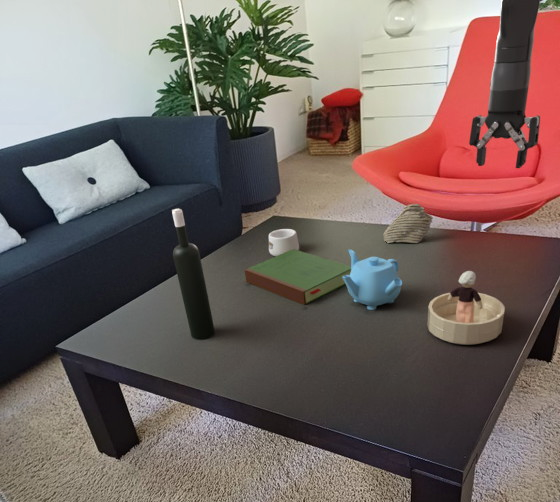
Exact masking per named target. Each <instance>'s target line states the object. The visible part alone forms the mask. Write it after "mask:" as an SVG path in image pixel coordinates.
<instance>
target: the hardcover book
mask: <svg viewBox="0 0 560 502" xmlns="http://www.w3.org/2000/svg"><path fill="white" fill-rule="evenodd" d="M350 273H351V265H348V264H344V263H341V262H339V261H338V262H337V261H334V260H332V259H327V258H324V257H322V256H318V255H315V254H311V253H307V252H304V251H301V250H295V249H292V250H290V251H288V252H285V253H283V254H281V255H278V256H274V257H272V258H269V259H267V260H264V261H261V262H259V263H256V264H255V265H252V266H250V267H248V268H245V269H244V276H245V281H246V283H247V284H250V285H253V286H255V287H257V288H260V289H263V290H265V291H268V292H271V293H273V294H275V295H278V296H280V297H283V298H285V299H287V300H290V301H293V302H296V303H298V304H300V305H303V306H306V305H308V304H310V303H312V302H314V301H316V300H318V299H320V298H322V297H324V296H327V294H329V293H332V292H333V291H336V290H337V289H340V288H342V287H343V286H346V284H345V282H344V280H343V278H342V277H343V276H345V275H349V276H350Z"/></svg>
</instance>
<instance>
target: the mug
mask: <svg viewBox="0 0 560 502" xmlns="http://www.w3.org/2000/svg"><path fill="white" fill-rule="evenodd" d="M292 249H295V250H298V251H300V245H299V239H298V234H297V231H296V230H294V229H291V228H281V229H276V230H273V231H271V232H269V234H268V253H269V254H270V255H271V256H274V257H276V256H278V255H281V254H283V253H285V252H288V251H290V250H292Z"/></svg>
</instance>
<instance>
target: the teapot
mask: <svg viewBox="0 0 560 502" xmlns="http://www.w3.org/2000/svg"><path fill="white" fill-rule="evenodd" d="M347 253H349V256H350V260H351V261H350V262H351V263H350V266H351V273H350V276H349V275H345V276H343V277H342V278H343V280H344V282H345V284H346V285H345V286H346V288H347V292H348V293H349V295H350V296H351V298H352V299H353V302H354V303H360V304H362V305H366V309H367V310H369V311H375V310H376V309H377V306H381V305H384V304H393V303H394V302H395V300H396V299H397V297H399V295H400V293H401V291H402V290H401V286H402V285H403V281H402V279H401V278H400V277H399V275H398V272H399V271H398V270H399V262H398V261H397V260H396V259H395V258H388V259H385V258H382V257H378V256H369V257H367V258H364V259H362V260H359V258H358V256H357V254H356V252H355V251H354V250H352V249H350V248H349V249H347Z"/></svg>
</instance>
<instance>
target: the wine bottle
mask: <svg viewBox="0 0 560 502" xmlns="http://www.w3.org/2000/svg"><path fill="white" fill-rule="evenodd" d="M171 214H172V218H173V223H174V226H175V229H176V235H177V239H178V244H177V245H176V246H175V247H174V248H173V251H172V257H173V261H174V266H175V270H176V275H177V279H178V283H179V288H180V292H181V298H182V302H183V305H184V311H185V314H186V319H187V323H188V327H189V332H190V337H191V338H193V339H194V340H206V339H209V338H211V337H212V336H213V337H214V335H215V333H216V330H215V325H214V320H213V314H212V310H211V304H210V299H209V294H208V290H207V289H208V288H207V284H206V278H205V275H204V270H203V264H202V260H201V254H200V250H199V247H198V246H197V245H195V244H194V243H191V242H189V239H188V234H187V229H186V223H185V217H184V212H183V210H182V209H181V208H179V207H178V208H174V209H171Z"/></svg>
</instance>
